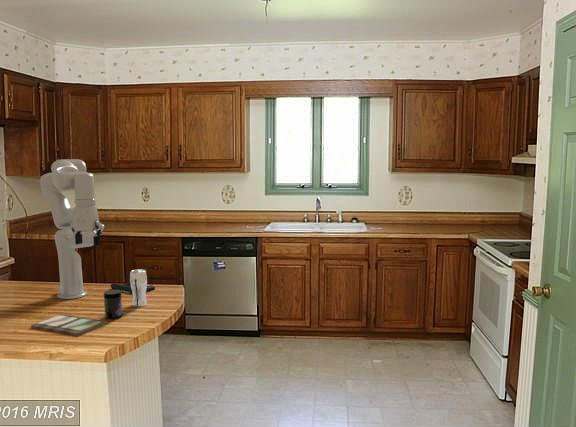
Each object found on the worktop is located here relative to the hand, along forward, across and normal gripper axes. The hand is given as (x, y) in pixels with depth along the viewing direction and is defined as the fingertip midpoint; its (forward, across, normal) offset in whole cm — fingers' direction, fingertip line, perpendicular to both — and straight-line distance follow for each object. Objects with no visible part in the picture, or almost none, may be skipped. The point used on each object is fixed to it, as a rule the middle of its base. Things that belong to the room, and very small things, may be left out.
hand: (88, 244), depth 200 cm
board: (+28, +5, -17) cm, 33 cm away
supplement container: (+28, +14, -3) cm, 32 cm away
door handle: (+29, -6, +34) cm, 45 cm away
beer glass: (+28, +13, +14) cm, 34 cm away
